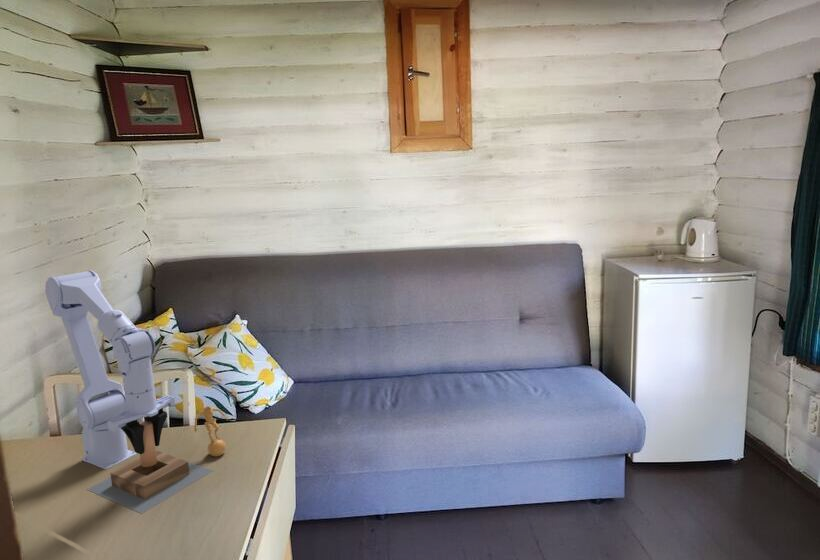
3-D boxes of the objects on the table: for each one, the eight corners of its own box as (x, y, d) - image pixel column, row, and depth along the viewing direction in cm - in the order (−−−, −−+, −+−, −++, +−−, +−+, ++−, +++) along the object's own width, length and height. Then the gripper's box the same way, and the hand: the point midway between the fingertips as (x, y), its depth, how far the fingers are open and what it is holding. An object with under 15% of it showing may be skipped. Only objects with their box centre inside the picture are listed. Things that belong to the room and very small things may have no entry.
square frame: (112, 485, 127) (110, 472, 126) (156, 461, 136) (155, 449, 135) (145, 499, 121) (143, 486, 121) (189, 474, 131) (188, 461, 130)
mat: (86, 491, 126) (86, 489, 126) (159, 453, 141) (159, 451, 141) (141, 515, 117) (141, 513, 117) (213, 472, 132) (213, 470, 132)
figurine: (206, 465, 135) (200, 416, 132) (192, 457, 139) (186, 409, 136) (237, 451, 141) (233, 404, 138) (223, 443, 145) (219, 397, 142)
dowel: (137, 465, 127) (132, 426, 125) (150, 458, 130) (145, 419, 128) (148, 468, 126) (143, 429, 124) (160, 461, 129) (155, 422, 127)
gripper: (119, 405, 116) (128, 469, 119) (181, 380, 128) (187, 438, 131) (97, 398, 120) (106, 460, 123) (159, 374, 132) (166, 431, 135)
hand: (147, 448), depth 127 cm, fingers closed on dowel, 3 cm apart
